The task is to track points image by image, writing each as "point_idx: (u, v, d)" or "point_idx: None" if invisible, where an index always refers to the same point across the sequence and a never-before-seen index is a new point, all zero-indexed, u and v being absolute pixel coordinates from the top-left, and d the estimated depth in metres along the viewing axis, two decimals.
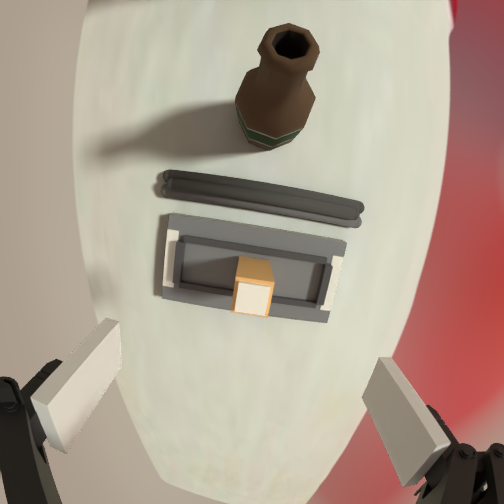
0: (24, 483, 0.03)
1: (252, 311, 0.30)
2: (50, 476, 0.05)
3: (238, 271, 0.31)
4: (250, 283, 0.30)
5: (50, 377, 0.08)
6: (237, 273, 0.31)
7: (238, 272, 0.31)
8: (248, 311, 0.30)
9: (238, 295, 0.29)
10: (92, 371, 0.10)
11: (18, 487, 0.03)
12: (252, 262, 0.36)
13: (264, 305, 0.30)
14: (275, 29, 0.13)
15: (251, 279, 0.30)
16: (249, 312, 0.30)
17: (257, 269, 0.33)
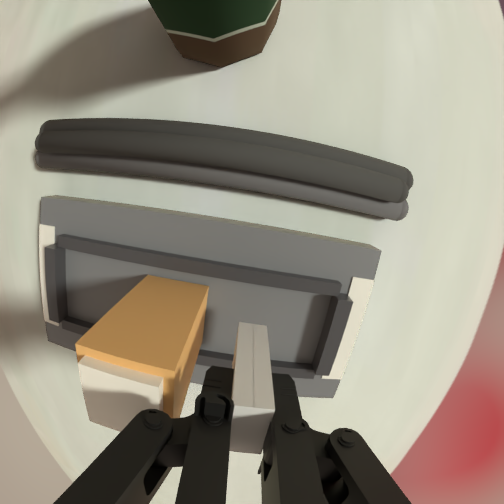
0: (205, 497, 0.05)
1: None
2: None
3: (99, 324, 0.11)
4: (108, 366, 0.09)
5: (235, 382, 0.10)
6: (90, 331, 0.10)
7: (98, 326, 0.11)
8: (119, 427, 0.09)
9: (85, 391, 0.09)
10: None
11: (195, 499, 0.05)
12: (162, 293, 0.15)
13: None
14: None
15: (112, 356, 0.09)
16: None
17: (157, 316, 0.13)
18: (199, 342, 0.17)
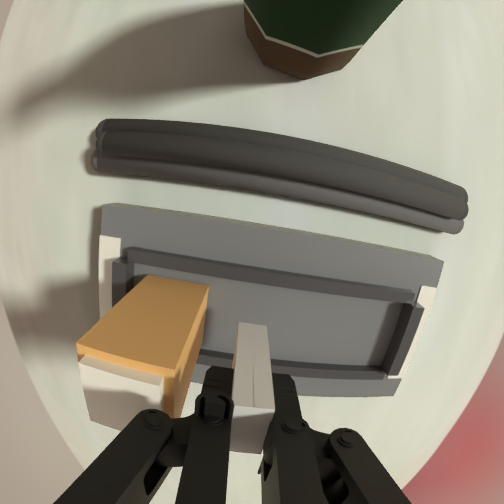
0: (205, 497, 0.05)
1: None
2: None
3: (100, 323, 0.11)
4: (109, 365, 0.09)
5: (235, 382, 0.10)
6: (90, 331, 0.10)
7: (99, 326, 0.11)
8: (120, 427, 0.09)
9: (86, 390, 0.09)
10: None
11: (195, 499, 0.05)
12: (162, 292, 0.16)
13: None
14: None
15: (112, 355, 0.09)
16: None
17: (157, 316, 0.13)
18: (199, 341, 0.17)
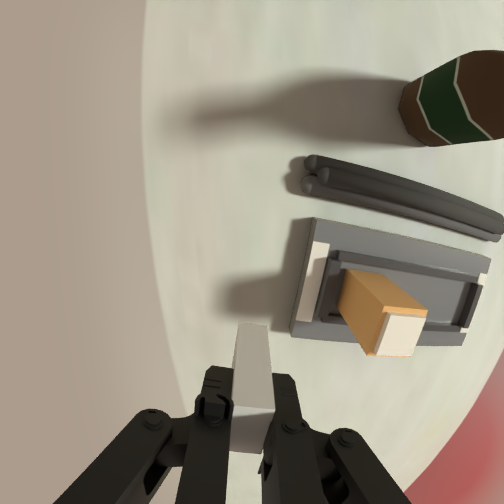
0: (205, 497, 0.05)
1: (398, 352, 0.18)
2: None
3: (376, 296, 0.20)
4: (402, 314, 0.18)
5: (235, 382, 0.10)
6: (379, 300, 0.19)
7: (378, 297, 0.20)
8: (393, 353, 0.18)
9: (386, 332, 0.18)
10: None
11: (195, 499, 0.05)
12: (371, 278, 0.25)
13: (414, 342, 0.18)
14: None
15: (402, 308, 0.18)
16: (394, 354, 0.18)
17: (389, 290, 0.22)
18: None
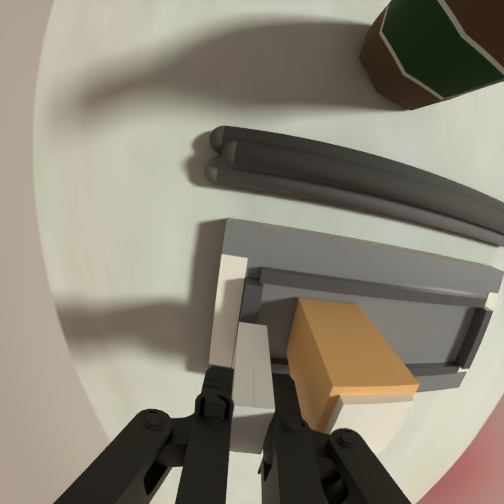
0: (205, 497, 0.05)
1: None
2: None
3: (327, 359, 0.11)
4: (368, 397, 0.09)
5: (235, 382, 0.10)
6: (329, 370, 0.10)
7: (329, 362, 0.11)
8: None
9: (336, 428, 0.09)
10: None
11: (195, 499, 0.05)
12: (333, 316, 0.16)
13: (389, 435, 0.09)
14: None
15: (370, 387, 0.10)
16: None
17: (358, 341, 0.13)
18: None
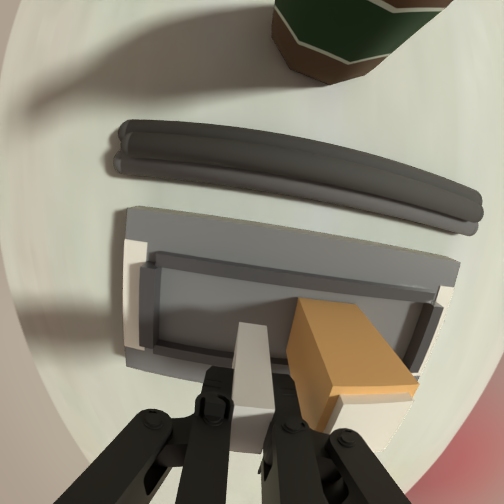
0: (205, 497, 0.05)
1: None
2: None
3: (327, 359, 0.11)
4: (368, 397, 0.09)
5: (235, 382, 0.10)
6: (329, 369, 0.10)
7: (329, 362, 0.11)
8: None
9: (335, 428, 0.09)
10: None
11: (195, 499, 0.05)
12: (333, 316, 0.16)
13: (389, 435, 0.10)
14: None
15: (370, 387, 0.10)
16: None
17: (358, 341, 0.13)
18: None
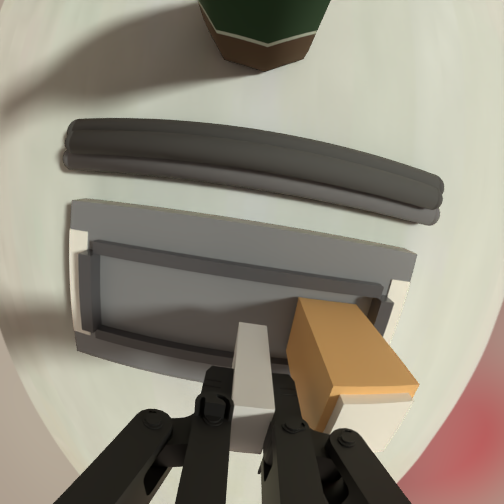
0: (205, 497, 0.05)
1: None
2: None
3: (327, 359, 0.11)
4: (368, 397, 0.09)
5: (235, 382, 0.10)
6: (330, 369, 0.10)
7: (329, 362, 0.11)
8: None
9: (336, 428, 0.09)
10: None
11: (195, 499, 0.05)
12: (333, 316, 0.16)
13: (389, 435, 0.10)
14: None
15: (370, 387, 0.10)
16: None
17: (358, 341, 0.13)
18: None
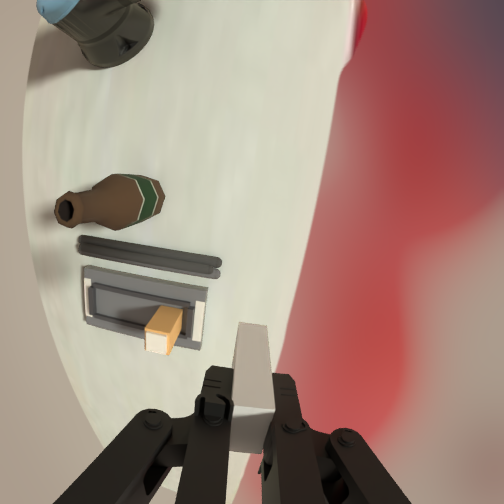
0: (205, 497, 0.05)
1: (157, 351, 0.41)
2: None
3: (149, 322, 0.42)
4: (153, 333, 0.41)
5: (235, 382, 0.10)
6: (147, 325, 0.42)
7: (149, 323, 0.42)
8: (154, 351, 0.41)
9: (146, 340, 0.40)
10: None
11: (195, 499, 0.05)
12: (166, 312, 0.47)
13: (164, 348, 0.41)
14: (58, 200, 0.24)
15: (154, 330, 0.41)
16: (155, 351, 0.41)
17: (165, 320, 0.44)
18: (179, 329, 0.49)
